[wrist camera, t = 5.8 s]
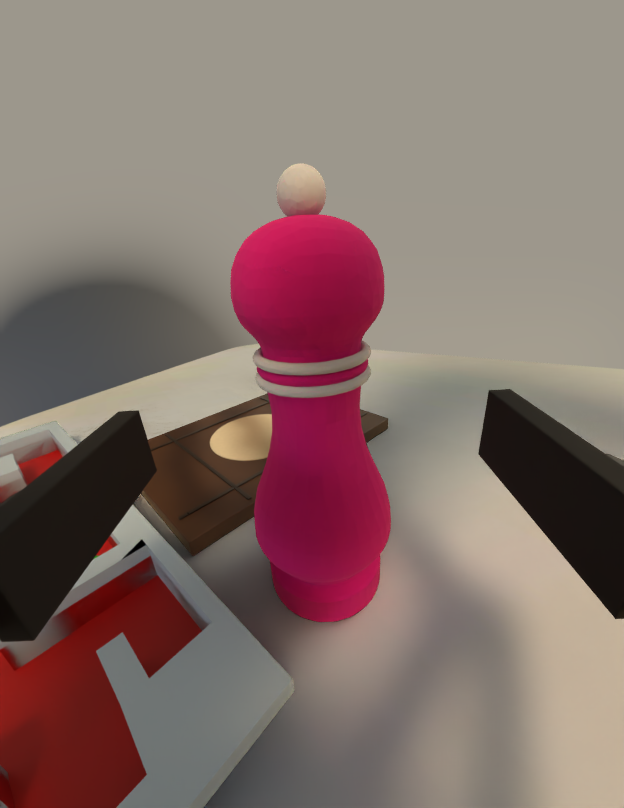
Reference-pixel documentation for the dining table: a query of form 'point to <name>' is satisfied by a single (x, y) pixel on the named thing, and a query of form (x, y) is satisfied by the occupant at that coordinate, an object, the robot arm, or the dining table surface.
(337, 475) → the pepper mill
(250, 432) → the board
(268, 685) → the maze game
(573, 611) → the dining table surface
